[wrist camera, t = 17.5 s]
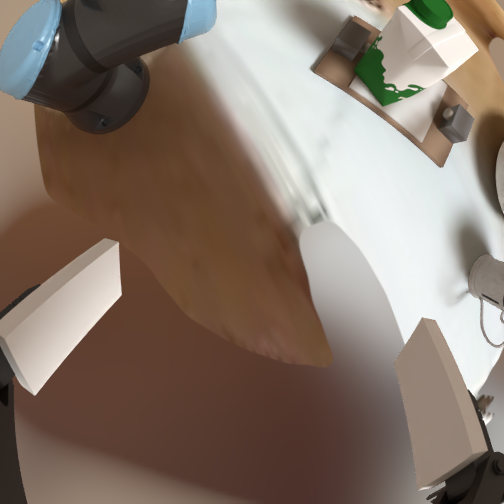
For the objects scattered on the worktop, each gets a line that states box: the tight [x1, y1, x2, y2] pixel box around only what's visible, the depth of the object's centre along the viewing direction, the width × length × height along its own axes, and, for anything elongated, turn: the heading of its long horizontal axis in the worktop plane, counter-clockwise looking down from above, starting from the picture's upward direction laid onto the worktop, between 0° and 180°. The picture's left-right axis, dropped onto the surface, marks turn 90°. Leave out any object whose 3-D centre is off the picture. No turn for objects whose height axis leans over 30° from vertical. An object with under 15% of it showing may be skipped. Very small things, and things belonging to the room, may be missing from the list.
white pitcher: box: [468, 254, 504, 348], centre depth 33 cm, size 9×14×15 cm, turn 150°
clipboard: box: [314, 16, 474, 168], centre depth 32 cm, size 25×15×5 cm, turn 59°
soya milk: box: [354, 0, 478, 107], centre depth 24 cm, size 9×9×20 cm
